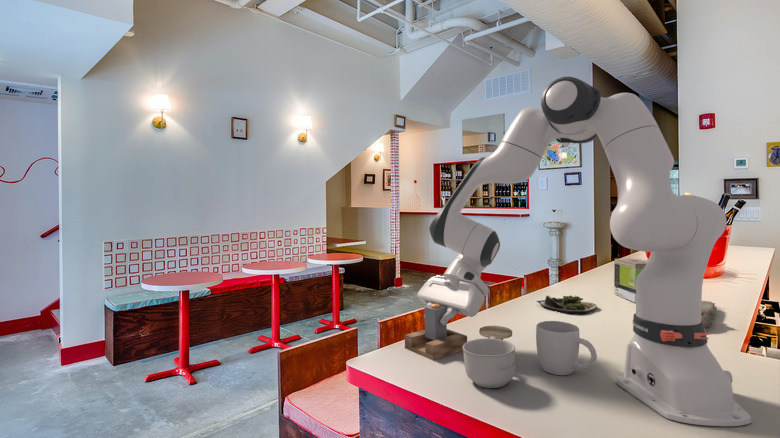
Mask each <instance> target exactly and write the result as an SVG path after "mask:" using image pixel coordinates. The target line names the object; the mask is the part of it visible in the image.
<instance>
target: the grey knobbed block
mask: <svg viewBox="0 0 780 438" xmlns="http://www.w3.org/2000/svg"><path fill="white" fill-rule="evenodd" d="M445 313H447V310H446V307H443V306H440V304H431V306H427V305H426V306H424V315H425V318H424V330H425V337H426V338H429V339H432V340H438V339H441V338H445V337H447V329H448V328H447V327H448V326H447V325H448V324H447V323H448V322H447V323H446V325H442V324H440V323H439V322H438V319H439V317H440V316H443V315H444V314H445Z"/></svg>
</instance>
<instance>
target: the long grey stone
mask: <svg viewBox="0 0 780 438" xmlns="http://www.w3.org/2000/svg"><path fill="white" fill-rule="evenodd" d="M716 315H717V306H716V303H715V302H712V301H707V300H702V302H701V321H702V322H703V324H704V328H705V330H706V329H707V327H711V324H712V321H713V320H714V317H715V316H716Z"/></svg>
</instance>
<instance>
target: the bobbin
mask: <svg viewBox="0 0 780 438" xmlns="http://www.w3.org/2000/svg"><path fill="white" fill-rule="evenodd" d="M478 332H479V335H480V336H482V337H484V338H490V337H492V336H493V337H496V338H497V339H501V340H505V339H508V338H511V337H513V330H512V329H511V328H509V327H506V326H500V325H486V326H485V325H484V326H482V327H480V328H479V331H478Z"/></svg>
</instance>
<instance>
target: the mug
mask: <svg viewBox="0 0 780 438" xmlns="http://www.w3.org/2000/svg"><path fill="white" fill-rule="evenodd" d="M535 327H536V328H535V340H536V341H535V343H536V351H537V358H538V363H539V365H540V367H541V368H542V370H543V371H544V372H546V373H548V374H551V375H555V376H556V375H557V376H568V375H571V374H573V373H574V371H575V370H576V368H577V369H581V370H588V369H590V368H593V366H594V365H595V364H596V362H597V358H598V355H597V350H596V348H595V347H594V345H593V344H592V343H591V342H590V341H589V340H587V339H584V338H580V328H579V327H578V326H577V325H575V324H572V323H569V322H566V321H565V322H564V321H558V320H544V321H540V322H538V323H537V324H536V326H535ZM580 344H581V345H583V346H584V347H586V348H587V350H588V351H589V352H590V360H589V361H588V362H584V363H582V362H578V360H579V353H580Z"/></svg>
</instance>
